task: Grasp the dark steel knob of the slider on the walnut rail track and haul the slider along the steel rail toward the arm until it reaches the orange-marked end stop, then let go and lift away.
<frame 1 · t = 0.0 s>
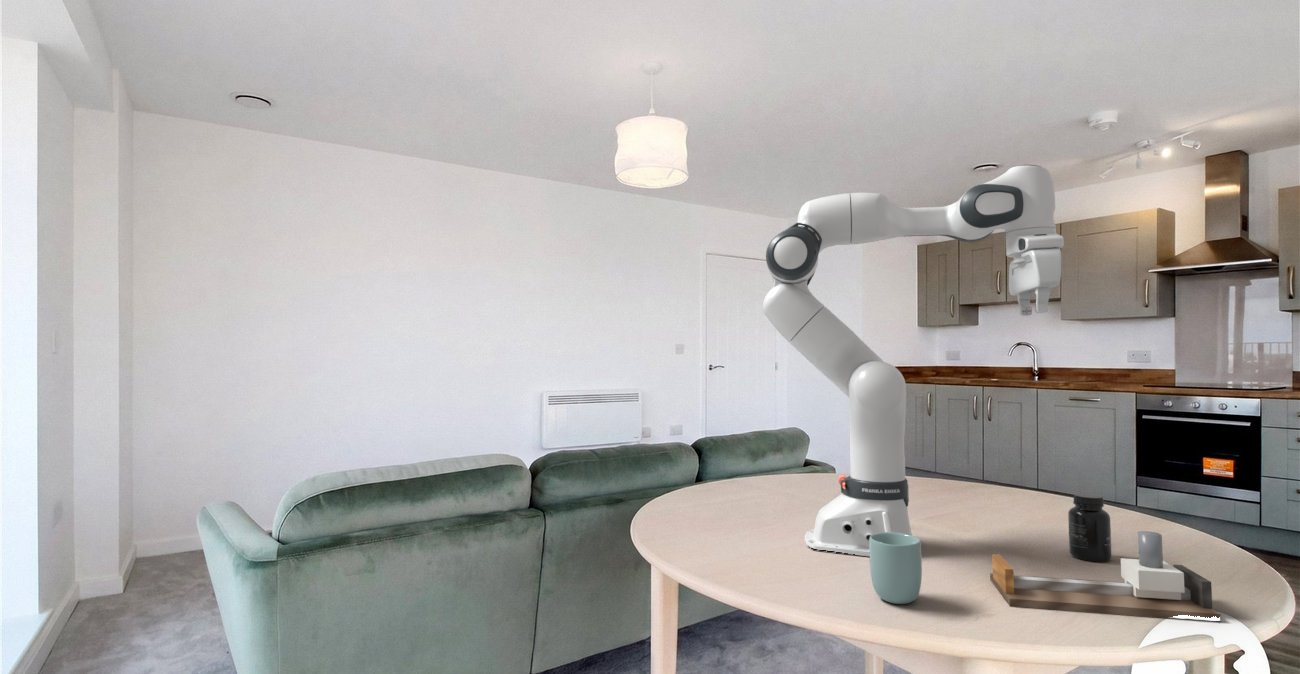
hand: (1033, 314, 128), 48 cm above the table, fingers open, 8 cm apart
rail track: (1095, 599, 103), on the table
cup: (896, 601, 104), on the table
slider: (1150, 563, 101), point 6 cm above the table, slide at 8.0 cm
supplement bottle: (1090, 558, 124), on the table
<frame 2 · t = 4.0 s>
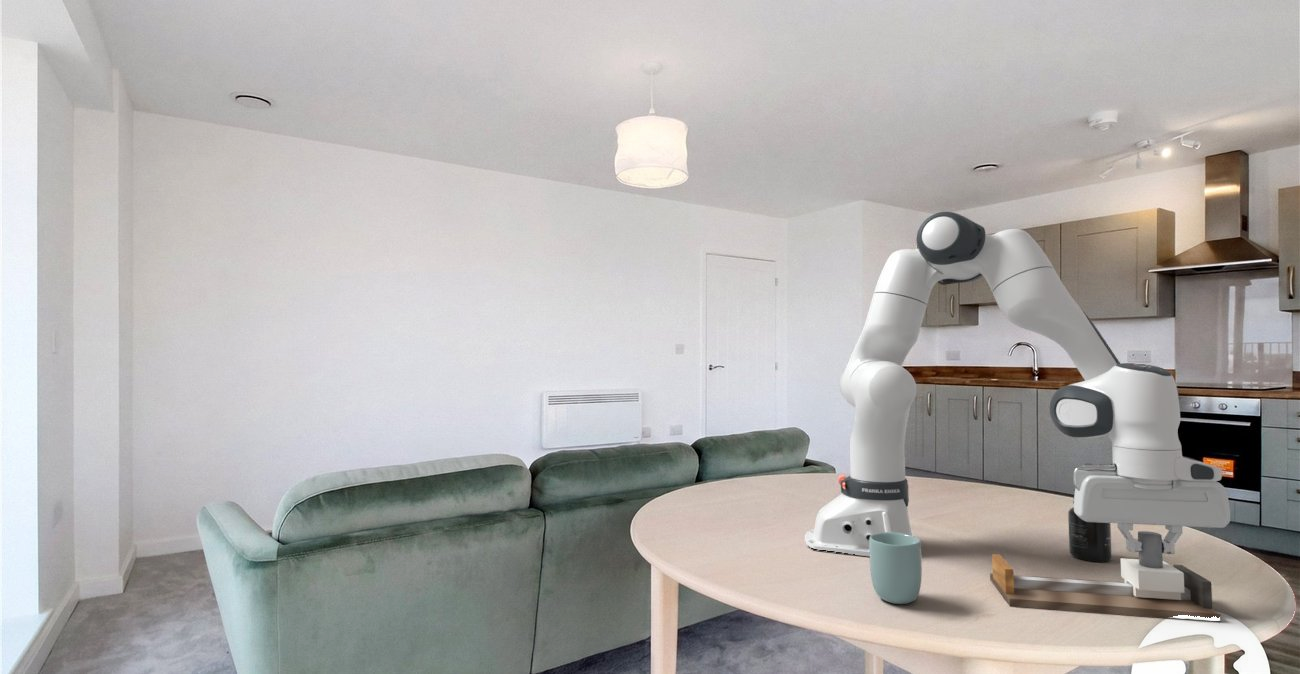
hand: (1150, 552, 101), 8 cm above the table, fingers closed on slider, 3 cm apart
slider: (1150, 563, 101), point 6 cm above the table, slide at 8.0 cm, touching gripper
everything else where it was.
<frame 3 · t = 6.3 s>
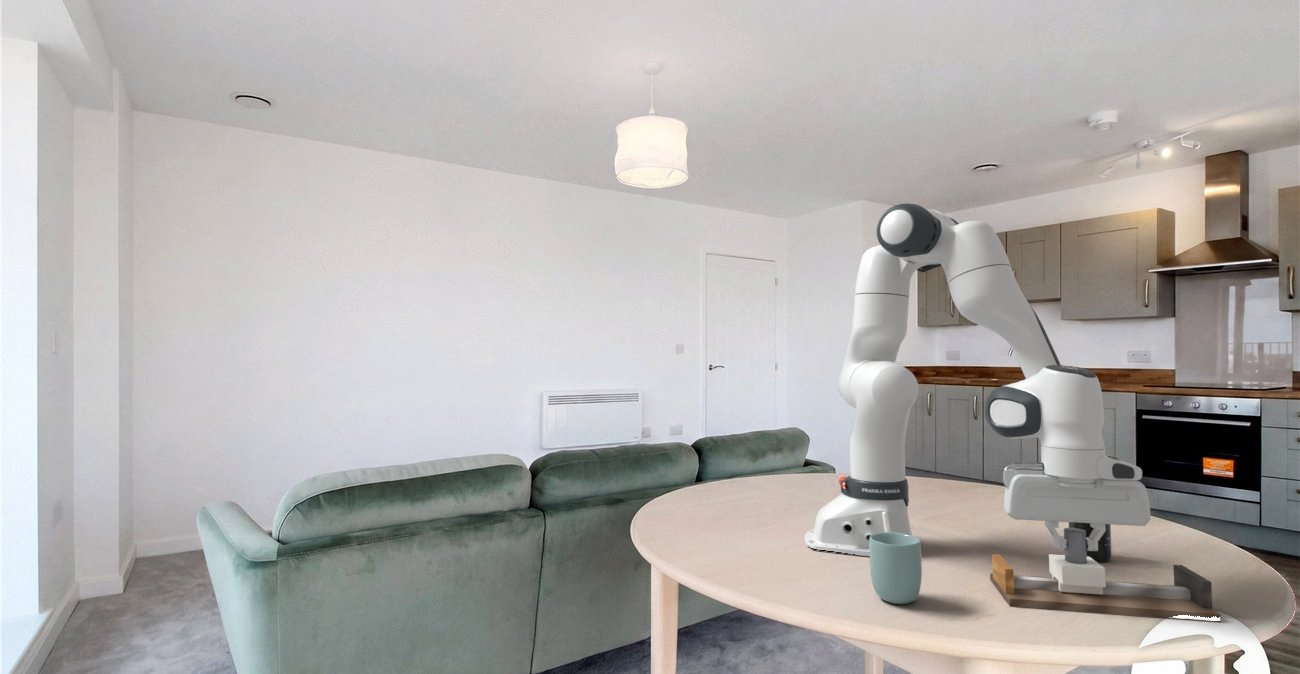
hand: (1075, 549, 104), 8 cm above the table, fingers closed on slider, 3 cm apart
slider: (1075, 559, 104), point 6 cm above the table, slide at -2.5 cm, touching gripper
everything else where it was.
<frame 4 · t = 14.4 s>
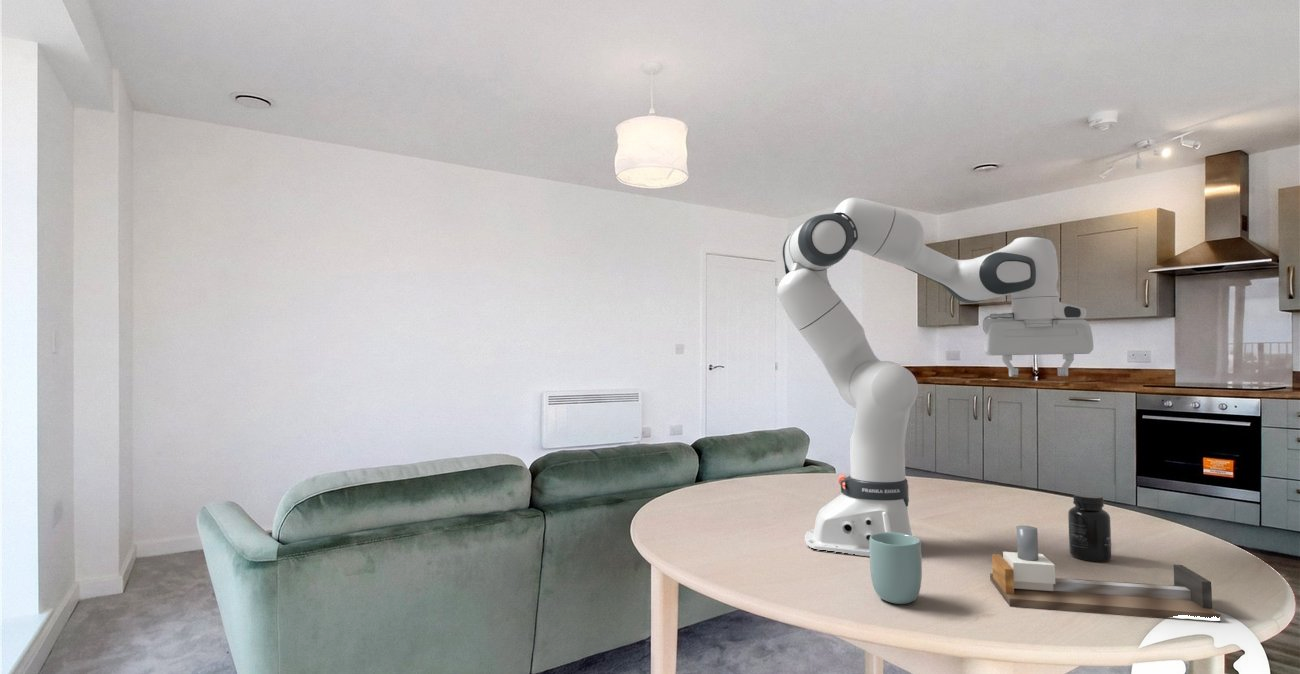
hand: (1038, 376, 136), 35 cm above the table, fingers open, 8 cm apart
slider: (1027, 556, 105), point 6 cm above the table, slide at -9.5 cm
everything else where it was.
at the end: slider slide at -9.5 cm; the gripper is holding nothing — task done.
